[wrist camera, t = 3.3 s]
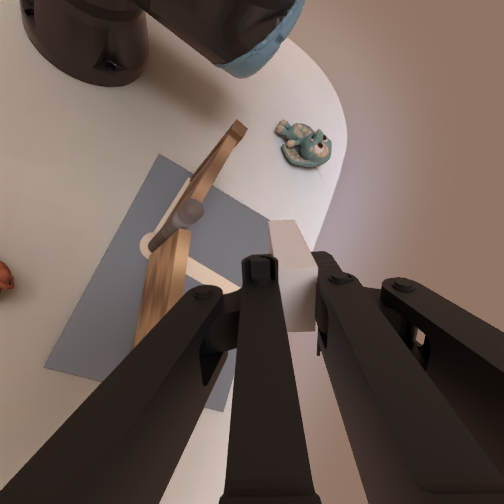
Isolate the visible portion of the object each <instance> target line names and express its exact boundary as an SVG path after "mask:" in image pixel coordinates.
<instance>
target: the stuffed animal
mask: <svg viewBox="0 0 504 504" xmlns="http://www.w3.org/2000/svg"><path fill="white" fill-rule="evenodd" d="M276 132H277V133H278V134H280V135H285V136H286V138H287V140H288V141H287V145H285V144H283V145H282V150H283V152H284V154H285V156H286V158H287V159H288V160H289V161H290V163H292V164H294V165H298V166H303V167H315V166H320V165H323V164H324V163H326V162H327V161H328V160H329V158H330V156H331V145H332V143H331V141H330V140H329V139H328V138H327V137H326V136H325V135H324V134H323V132H322V131H321V130H320V129H318V130H317V132H316V131H313V130H312V129H311V128H310V127H309V126H307V125H305V124H297V123H296V124H294V125H292V127H291V126H290V125H289V123H288V122H287V121H285V120H281V121H280V123H279V125H278V126H277V128H276ZM296 145H300V146H301V150H300V155H299V154H298V152H297V151H295V150H293V149H292V148H291V147H293V146H296Z"/></svg>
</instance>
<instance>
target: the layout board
mask: <svg viewBox="0 0 504 504" xmlns="http://www.w3.org/2000/svg"><path fill="white" fill-rule="evenodd" d="M192 176H193V174H192V173H191V172H189V171H187V170H186V169H184V168H182V167H181V166H179V165H177V164H176V163H174V162H172V161H171V160H169V159H167V158H166V157H164V156H162V155H161V154H159V155H158V157H157V159H156V161H155V163H154V165H153V166H152V168H151V170H150V172H149V174H148V176H147V178H146V179H145V181H144V183H143V185H142V187H141V189H140V190H139V192H138V194H137V196H136V198H135V200H134V201H133V203H132V205H131V207H130V209H129V211H128V213H127V214H126V216H125V218H124V220H123V222H122V224H121V225H120V227H119V229H118V231H117V233H116V235H115V236H114V238H113V240H112V242H111V244H110V246H109V248H108V249H107V251H106V253H105V255H104V257H103V259H102V260H101V262H100V264H99V266H98V268H97V270H96V271H95V273H94V275H93V277H92V279H91V281H90V283H89V284H88V286H87V288H86V290H85V292H84V294H83V295H82V297H81V299H80V301H79V303H78V305H77V306H76V308H75V310H74V312H73V314H72V316H71V317H70V319H69V321H68V323H67V325H66V327H65V329H64V330H63V332H62V334H61V336H60V338H59V340H58V341H57V343H56V345H55V347H54V349H53V351H52V352H51V354H50V356H49V358H48V360H47V362H46V364H45V365H44V368H48V369H52V370H56V371H60V372H64V373H68V374H72V375H76V376H80V377H84V378H88V379H92V380H96V381H100V382H103V381H104V380H105V379H106V377H107V376H108V375H109V374H110V373H111V372H112V371H113V370H114V369H115V368H116V367H117V366H118V365H119V364H120V363H121V361H122V360H123V359H124V358H125V357H126V356H127V355H128V354H129V353H130V350H131V349H133V343H134V338H135V332H136V327H137V321H138V316H139V310H140V305H141V299H142V294H143V288H144V283H145V277H146V272H147V266H148V261H149V256H150V255H151V254H152V252H150V251H149V249H148V243H149V242H150V240H151V239H152V238H153V237H154V236H155V235H156V234H157V233H158V231H159V230H160V229H161V228H162V226H163V225H164V223H165V222H166V220H167V219H168V217H169V215H170V214H171V212H172V211H173V209H174V207H175V206H176V204H177V203H178V201H179V199H180V198H181V196H182V195H183V193H184V191H185V190H186V188H187V187H188V185H189V183H190V179H191V178H192ZM201 204H202V205H203V207H204V214H203V216H202V217H201V218H200V219H199V220H198V221H197V222H195V223H194V224H193V225H192V226H191V227H190V228H188V229H187V230H189V231H192V232H191V239H190V246H189V254H188V261H187V268H186V275H185V282H184V289H183V295H184V294H185V293H186V292H187V291H188V290H190V289H191V288H194V287H196V286H199V285H204V284H206V285H214V286H218V287H220V288H221V289H222V291H223V294H227V293H231V292H234V291H237V290H239V289H240V288H242V283H243V282H242V265H241V261H242V260H243V259H244V258H246V257H248V256H250V255H255V254H269V233H268V221H270V220H269V219H267V218H265V217H264V216H262V215H260V214H259V213H257V212H255V211H254V210H252V209H250V208H249V207H247V206H245V205H244V204H242V203H240V202H239V201H237V200H235V199H234V198H232V197H230V196H229V195H227V194H225V193H224V192H222V191H220V190H219V189H217V188H215V187H214V186H211V188H210V189H209V191H208V193H207V194H206V196H205V198H204V200H203V201H202V203H201ZM236 352H237V348H236V349H232V350H229V351H228V357H227V359H226V362H225V364H224V366H223V368H222V370H221V372H220V374H219V377H218V379H217V381H216V383H215V385H214V387H213V389H212V391H211V394H210V396H209V398H208V400H207V402H206V404H205V406H204V407H205V408H209V409H213V410H217V411H221V412H223V411H224V408H225V404H226V401H227V397H228V394H229V390H230V387H231V383H232V380H233V376H234V373H235V364H236Z"/></svg>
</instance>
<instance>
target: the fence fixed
mask: <svg viewBox="0 0 504 504" xmlns="http://www.w3.org/2000/svg"><path fill="white" fill-rule="evenodd" d="M247 130H248V128H246V127H245V126H244V125H243V124H242V123H241V122H239V121H238V120H236V121H235V122H234V123H233V125H232V126H231V127H230V129H229V130H228V131H227V132H226V134H225V135H224V136H223V137H222V139H221V140H220V141H219V143H218V144H217V145H216V146H215V148H214V149H213V150H212V151H211V153H210V154H209V155H208V156H207V158H206V159H205V160H204V162H203V163H202V164H201V165H200V167H199V168H198V169H197V170H196V172H195V173H194V174H193V176H192V178H191V179H190V183H189V185H188V187H187V188H186V190H185V191H184V193H183V195H182V196H181V198H180V199H179V201H178V203H177V204H176V206H175V207H174V209H173V211H172V212H171V214H170V215H169V217H168V219H167V220H166V222H165V223H164V225H163V226H162V228H161V229H160V230H159V231H158V233H157V234H156V235H155V236H154V237H153V238H152V239H151V240H150V242H149V243H148V249H149V251H150V252H152V253H153V252H154V251H155V250H156V249H157V248H158V247H160V246H161V245H162V244H163V243H164V242H165V241H166V240H167V239H168V238H169V237H170V236H171V235H172V234H174V233H175V232H176V231H177V230H178V229H179V228H181V229H185V230H187V229H188V228H190V227H191V226H192V225H193V224H194V223H195V222H197V221H198V220H199V219H200V218H201V217H202V216H203V214H204V207H203V205H202V204H201V203H202V201H203V200H204V198H205V196H206V194H207V193H208V191H209V189H210V188H211V186H212V184H213V182H214V181H215V179H216V177H217V175H218V174H219V172H220V170H221V169H222V167H223V165H224V163H225V162H226V160H227V158H228V156H229V155H230V153H231V151H232V149H233V148H234V147H235V146H236V145H237V144H238V143H239V142H240V140H241V139H242V138H243V137H244V135H245V133H246V131H247Z"/></svg>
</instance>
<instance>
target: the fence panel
mask: <svg viewBox="0 0 504 504" xmlns="http://www.w3.org/2000/svg"><path fill="white" fill-rule="evenodd" d="M191 232H192V231H189V230H185V229H181V228H179V229H178V230H177V231H176V232H175V233H174V234H172V235H171V236H170V237H169V238H168V239H167V240H166V241H165V242H164V243H163V244H162V245H161V246H160V247H158V248H157V249H156V250H155V251H154V252H153V253H152V254H151V255H150V256H149V261H148V266H147V272H146V277H145V283H144V288H143V294H142V299H141V305H140V310H139V316H138V321H137V327H136V332H135V338H134V343H133V349H134V348H135V346H136V345H137V344H138V343H139V342H140V341H141V340H142V339H143V338H144V337H145V336H146V335H147V334H148V333H149V331H150V330H151V329H152V328H153V327H154V326H155V325H156V324H157V323H158V322H159V321H160V320H161V319H162V318H163V317H164V315H165V314H166V313H167V312H168V311H169V310H170V309H171V308H172V307H173V306H174V305H175V304H176V303H177V302H178V300H179V299H180V298H181V297H182V296H183V289H184V282H185V275H186V268H187V261H188V254H189V246H190V239H191ZM133 349H131V350H130V352H131V351H132V350H133Z"/></svg>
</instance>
